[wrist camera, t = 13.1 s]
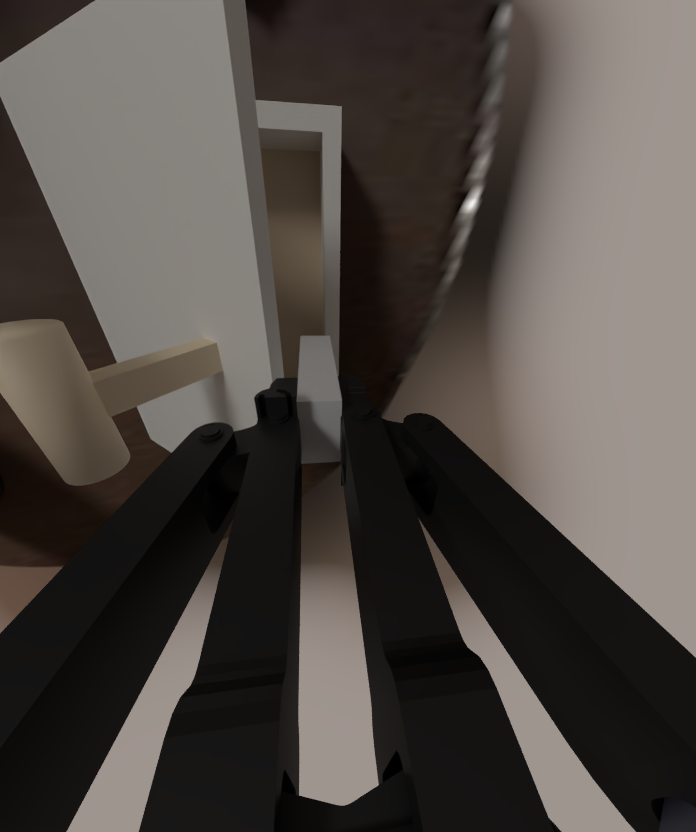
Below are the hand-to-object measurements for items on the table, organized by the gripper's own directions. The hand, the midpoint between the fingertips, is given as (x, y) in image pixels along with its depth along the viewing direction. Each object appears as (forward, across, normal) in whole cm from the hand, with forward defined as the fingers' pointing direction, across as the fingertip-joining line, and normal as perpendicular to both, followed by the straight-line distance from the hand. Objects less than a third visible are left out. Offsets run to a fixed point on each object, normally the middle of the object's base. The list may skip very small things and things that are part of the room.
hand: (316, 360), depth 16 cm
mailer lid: (+5, -9, 0) cm, 10 cm away
